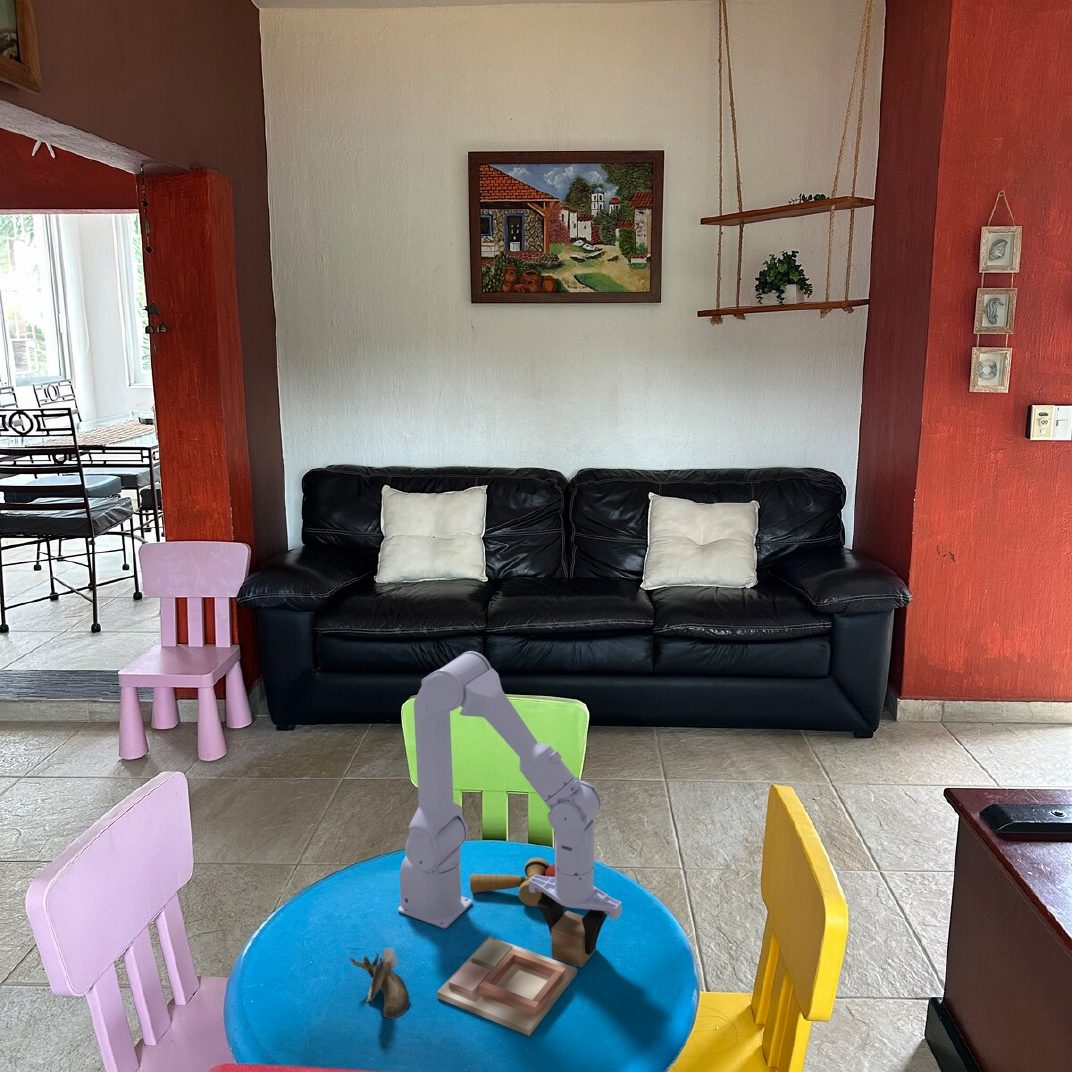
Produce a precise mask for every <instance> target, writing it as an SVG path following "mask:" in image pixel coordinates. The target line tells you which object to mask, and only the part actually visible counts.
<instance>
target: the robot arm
mask: <svg viewBox="0 0 1072 1072" xmlns="http://www.w3.org/2000/svg"><path fill="white" fill-rule="evenodd" d="M500 679H501V678H500V676H499V673H498V672H497V671H496V670H495V669H494V668H493V667H492V666H491V663H490V662H489V661H488V659H487V658H486V657H485V656H484V655H483V654H481V653H479V652H477V651H474V650H472V651H471V650H470V651H465V652H463V653H461V654H460V655H458V656H457V657H455V658H454V659H453V660H451V661H450V662H449V663H447V664H445V665H444V666H443V667H441V668H439V669H437V670H435V671H433V672H431V673H429V674H428V675H427V676H425V677H424V678H422V679H421V687H420V688H419V690H418V692H417V695H416V697H415V698H414V701H413V716H414V718H413V720H414V737H415V753H416V754H415V756H416V757H415V759H416V774H417V775H416V776H417V779H416V780H417V796H418V807H417V810H416V811H415V814H414V815H413V817H412V820H411V821H410V823H409V826H408V831H409V832H408V838H407V840H406V842H405V845H404V852H405V857H404V859H403V860H402V863H401V866H400V869H399V893H400V895H399V896H400V898H399V899H400V906H398V908H397V911H398V912H399V913H400V914H404V915H406V916H409V917H412V918H414V919H417V920H421V921H422V922H425V923H428V924H431V925H434V926H435V927H438V928H442V929H447V928H448V927H450V925H451V924H452V923H454V921H455V920H456V919H458V918H459V917H460V916H461V914H462V913H464V912H465V910H467V909H468V908H469V907H470V906H471V905H472V904H473V900H472V899H471V898H468V897H465V896H462V881H461V879H462V878H461V852H462V845H463V844H464V843H465V842H466V840H467V838H468V836H469V831H468V826H467V825H468V824H467V823H466V821H465V818H464V816H463V807H462V806H461V804H459V803H457V802H455V801H454V782H453V780H454V778H453V777H454V776H453V757H452V756H453V754H452V733H451V732H452V731H451V728H452V727H451V712H453V711H455V710H457V709H458V708H459V707H461V710H460V712H459V715H460V716H465V717H466V716H467V717H478V718H480V717H481V718H483V719H484V720H485V721H486V722H488V724H489V725H490V726H491V728H492V729H494V730H495V731H496V733H498V735H499V736H500V737H501V738H502V739H503V741H504V742H505V743H506V744H507V745H508V746H509V747H510V748H511V750H512V751H514V753H515V754H516V755H517V756H518V758H519V772H520V773H521V774H522V775H523V776H524V778H525V779H526V780H527V782H528V783H529V784H530V785H531V787H532V788H533V789H534V791H535V792H536V793H537V794H538V796H539V798H541V800H542V801H543V802H544V804H545V805H546V806H547V807H548V809H549V812H547V814H546V815H547V820H548V822H549V824H550V826H551V828H552V830H554V831H553V832H554V845H555V846H554V860H555V861H554V864H555V877H546V876H540V875H536V874H535V875H534V876H533V877H532V878H531V879H530V880H529V892H532V893H536V892H537V891H538V892H541V899H540V900H539V901H538V903H537V909H538V910H539V911H540V913H541V914H542V916H543V918H544V920H545V922H546V925H547V928H548V930H549V933H550V935H551V929H552V927H553V926H554V925H555V924H556V923H557V922H558V920H559V919H560V918H561V917H562V916H563V915H564V913H565V911H564V909H565V907H566V908H572V909H582V910H588V911H587V912H586V913H585V915H583V916H584V917H583V918H582V923H583V926H584V931H585V952H586V954H588V955H591V953H592V952H593V951H594V949H595V948H596V949H597V942H598V940H599V935H600V932H601V930H602V928H603V925H604V923H605V920H606V919H607V917H608V916H609V919H610V920H614V921H616V920H617V919H619V917H620V915H621V914H622V901H620V900H618V899H615V898H613V897H611V896H609V894H606V893H605V892H603V891H602V890H600V889H599V888H597V887H596V886H595V885H594V881H595V880H594V879H595V878H594V877H595V876H594V874H595V872H594V871H595V820H594V818H595V817H596V816H597V815H598V813H599V811H600V809H601V805H602V804H601V802H602V801H601V798H600V795H599V793H598V792H597V790H596V787H595V786H593V785H592V784H591V783H589V782H587V781H584V780H583V779H582V780H581V779H580V777H579V776H576V775H574V773H573V772H571V770H570V769H569V767H568V766H567V764H565V762H564V761H563V760H562V755H561V754H560V753H559V752H558V750H554V748H553V747H552V746H551V744H546V743H542V742H538V741H537V739H536V737H535V736H534V734H532V731H531V730H530V728H528V725H527V724H526V723H525V721H524V720H523V719H522V717H521V716H520V714H519V713H518V711H517V710H516V708H515V707H514V705H513V704H512V702H511V700H509V698H508V697H507V695H506V693H505V692H504V691H503V687H502V685H501V684H502V683H501V680H500ZM594 952H595V951H594ZM594 952H593V953H594ZM591 956H592V955H591Z"/></svg>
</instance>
